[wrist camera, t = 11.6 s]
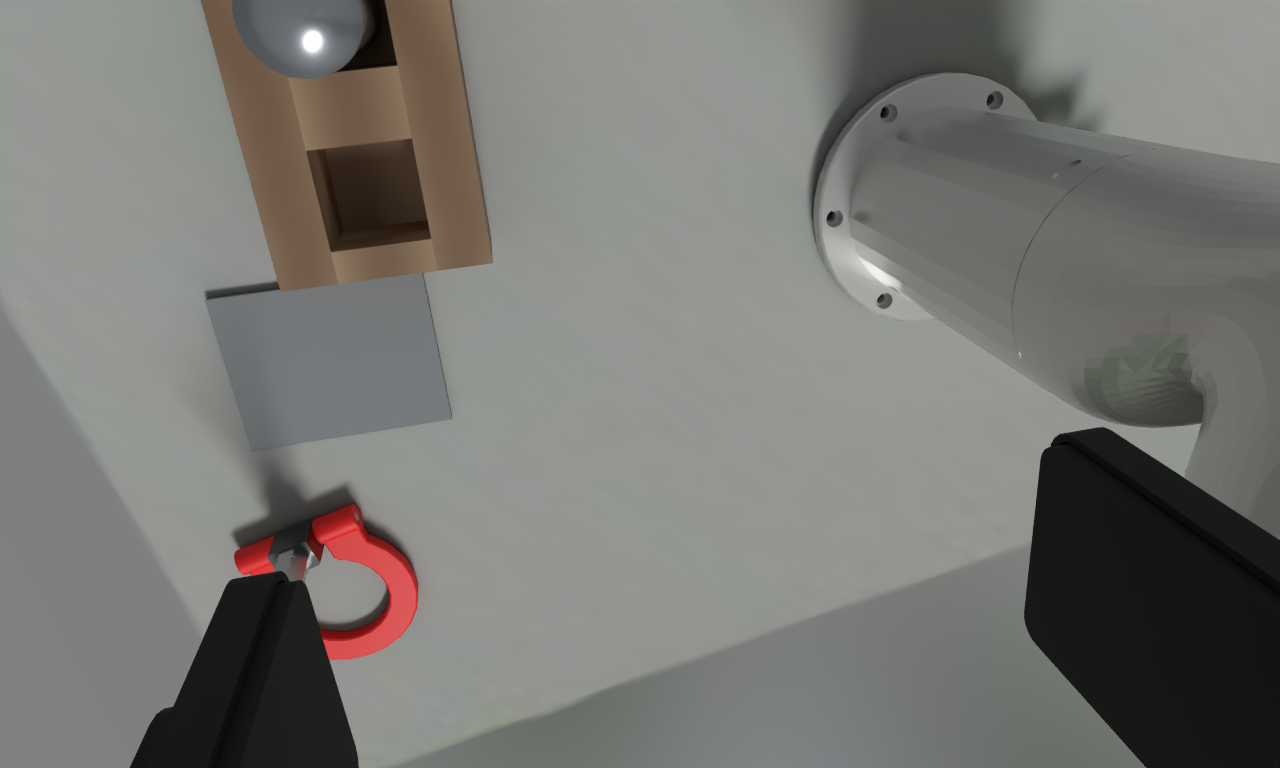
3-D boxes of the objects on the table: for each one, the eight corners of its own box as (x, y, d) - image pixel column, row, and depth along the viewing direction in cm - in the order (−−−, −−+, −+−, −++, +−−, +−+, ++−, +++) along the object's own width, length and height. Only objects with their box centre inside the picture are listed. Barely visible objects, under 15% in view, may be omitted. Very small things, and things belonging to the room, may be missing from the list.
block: (436, -88, 36) (431, -101, 32) (491, 238, 42) (492, 262, 38) (213, -68, 35) (179, -80, 31) (300, 264, 41) (280, 291, 37)
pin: (381, -40, 36) (346, -59, 26) (400, 57, 38) (372, 72, 28) (287, -32, 36) (216, -48, 26) (310, 66, 37) (251, 85, 27)
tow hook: (443, 612, 50) (368, 490, 46) (437, 802, 39) (337, 663, 35) (308, 666, 50) (220, 549, 46) (263, 873, 39) (141, 742, 34)
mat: (422, 269, 42) (421, 270, 42) (451, 416, 45) (451, 419, 45) (207, 298, 41) (205, 300, 40) (253, 448, 44) (252, 450, 44)
